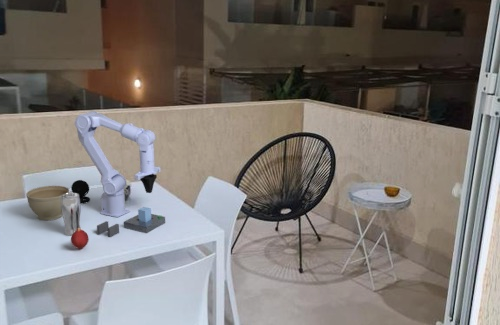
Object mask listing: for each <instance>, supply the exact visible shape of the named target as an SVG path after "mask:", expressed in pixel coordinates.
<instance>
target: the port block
mask: <svg viewBox="0 0 500 325" xmlns="http://www.w3.org/2000/svg"><path fill="white" fill-rule="evenodd" d="M165 224H166V216H164V215H158V214H153V213H151V220H150V221H148V222H141V221H139V218H138V214H136V215H135V216H133V217H130V218H128V219H125V220H124V221H123V228H124V229H127V230H132V231H135V232H139V233H144V234H148V233H150V232H151V231H153V230H155V229H157V228H160V226H163V225H165Z"/></svg>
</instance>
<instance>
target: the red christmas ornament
mask: <svg viewBox="0 0 500 325" xmlns="http://www.w3.org/2000/svg"><path fill="white" fill-rule="evenodd" d="M80 228H81V227H80ZM80 228H78V229H77V231H75V232H74V233H73V235H72V236H70V242H71V245H72V246H73V247H74V248H76V249H78V250H82V249H83V248H85V247H86V246H87V245H88V243H89V241H90V240H89V235H88V233H87V232H86V231H84V230H83V229H80Z"/></svg>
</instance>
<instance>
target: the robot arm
mask: <svg viewBox="0 0 500 325" xmlns="http://www.w3.org/2000/svg"><path fill="white" fill-rule="evenodd" d="M74 126H75V128H76V130H77V138H78V140H79V142H80V143H81V145H82V146H83V148H84V149H85V151H86V153H87V155H88V156H89V158H90V159H91V161H92V163H93V164H94V166H95V167H96V169H97V171H98V172H99V174H100V176H101V177H100V183H101V185H102V189H103V193H102V194H101V198H100V208H101V211H100V214H101V215H106V216H110V217H115V218H119V217H121V216H124V215H126V214H127V213H130V210H129V209H126V201H125V187H126V186H127V179H126V178H125V177H124V176H123V175H122V174H121V173H120V171H118V170H116V169H114V168H113V166H112V165H111V163H110V161H109V160H108V158H107V157H106V154H105V153H104V151H103V150H102V148H101V146H100V144H98V142H97V140H96V138H95V137H94V134H95V132H96V130H97V128H98V127H104V128H107V129H109V130H113V131H114V132H115V131H116V132H118V133H119V134H120V136H121V137H123V138H125V139H128V140H130V141H132V142H135V143H136V144H137V145H138V148H139V166H140V168H139V169H140V170H139V171H138V172H137V173H136V174H134V175H133V176H134V177H133V178H134V180H135V181H141V183H142V184H143V187H144V190H145V192H146V193H147V194H152V193H153V190H154V189H153V188H154V184H155V181H156V179H157V175H158V173H160V172H162V170H161V166H155V165H156V163H155V148H154V142H155V141H156V134H155V133H154V132H153V131H152V130H150V129H145V128H143V127H141V128H140V127H137V126H135V125H134V124H133V123H132V122H130V123H128V122H127V123H125V124H123V123H120V122H119V121H117V120H114V119H113V118H110V117H108V116H106V115H104V114H103V113H100V112H97V111H95V110H94V111H93V110H92V111H89V112H86V113H82V114H79V115H77V116H76V119H75V121H74Z"/></svg>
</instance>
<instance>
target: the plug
mask: <svg viewBox="0 0 500 325" xmlns="http://www.w3.org/2000/svg"><path fill="white" fill-rule="evenodd" d="M151 214H152V208H150V207H146V206H143V207H141V208H139V209H138V210H137V215H138V218H139V221H141V222H148V221H150V220H151Z"/></svg>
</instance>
